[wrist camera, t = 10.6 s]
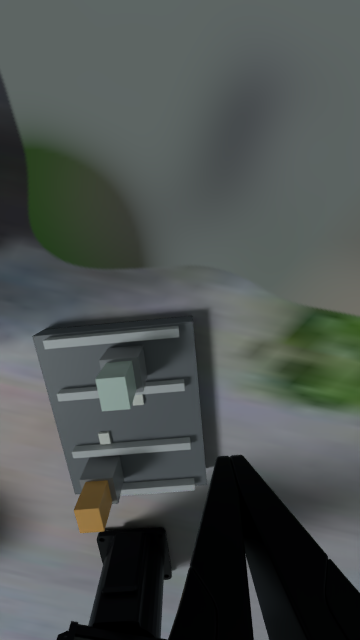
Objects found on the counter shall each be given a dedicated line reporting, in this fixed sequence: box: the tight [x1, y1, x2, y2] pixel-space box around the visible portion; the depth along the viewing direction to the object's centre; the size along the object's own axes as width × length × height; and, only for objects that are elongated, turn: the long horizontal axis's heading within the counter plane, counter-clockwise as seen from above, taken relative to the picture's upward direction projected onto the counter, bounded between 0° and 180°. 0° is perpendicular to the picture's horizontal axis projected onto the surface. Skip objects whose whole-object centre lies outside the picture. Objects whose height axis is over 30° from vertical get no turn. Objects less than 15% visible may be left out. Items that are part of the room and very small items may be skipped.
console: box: [32, 316, 207, 496], centre depth 19 cm, size 14×11×2 cm
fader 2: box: [74, 455, 124, 533], centre depth 18 cm, size 2×2×4 cm
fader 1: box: [95, 345, 147, 411], centre depth 16 cm, size 2×2×4 cm
